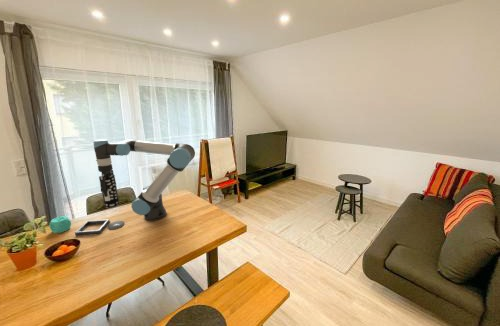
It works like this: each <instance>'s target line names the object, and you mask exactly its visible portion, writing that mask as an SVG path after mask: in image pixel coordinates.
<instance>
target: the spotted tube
mask: <svg viewBox="0 0 500 326" xmlns="http://www.w3.org/2000/svg"><path fill="white" fill-rule="evenodd" d="M115 177H116V175H115V174H114V175H113V174H111V176H109V177H108V178H105V183H107V186H108V191H109V196H110V201H105V198H104V193H103V192H101V193H102V199H103V203H104V208H106V209H110V208H111V209H113V208H115V207H118V206H120V199H119V194H118V188H117V181H116V178H115ZM98 179H99V178H98ZM99 181H100V179H99Z"/></svg>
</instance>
